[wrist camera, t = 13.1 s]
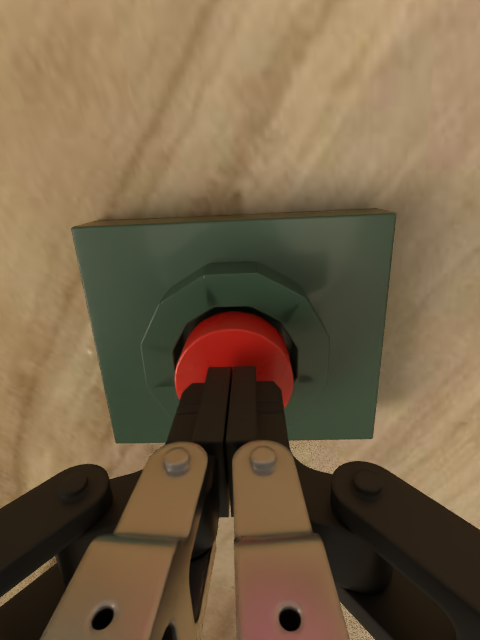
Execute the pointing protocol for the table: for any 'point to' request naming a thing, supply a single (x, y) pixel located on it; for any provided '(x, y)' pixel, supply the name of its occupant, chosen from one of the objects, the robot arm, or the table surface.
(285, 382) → the button
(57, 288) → the table surface
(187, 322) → the control block
